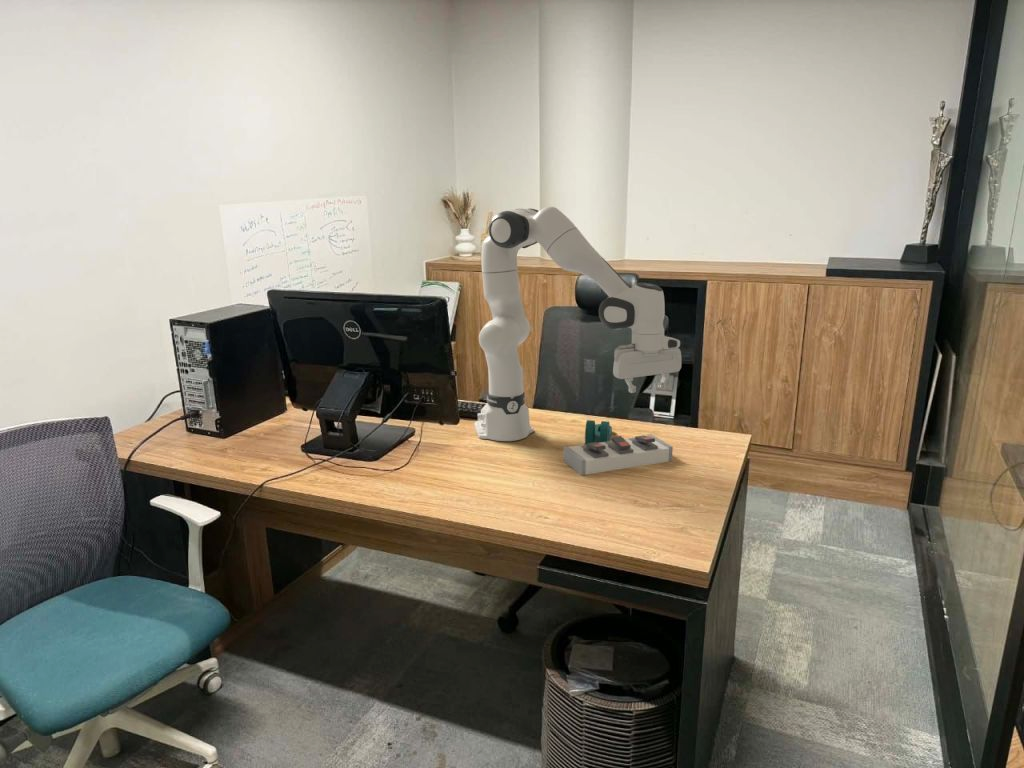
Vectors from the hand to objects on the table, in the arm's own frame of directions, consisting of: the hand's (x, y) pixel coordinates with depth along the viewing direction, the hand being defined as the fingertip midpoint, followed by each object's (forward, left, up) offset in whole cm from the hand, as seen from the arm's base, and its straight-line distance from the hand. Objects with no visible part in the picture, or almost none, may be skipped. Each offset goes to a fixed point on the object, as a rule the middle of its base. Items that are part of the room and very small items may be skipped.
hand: (646, 390), depth 197 cm
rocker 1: (-2, -15, -16) cm, 21 cm away
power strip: (-4, -7, -22) cm, 23 cm away
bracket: (-23, -3, -22) cm, 32 cm away
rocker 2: (-2, -7, -16) cm, 17 cm away
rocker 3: (-2, +1, -16) cm, 16 cm away
